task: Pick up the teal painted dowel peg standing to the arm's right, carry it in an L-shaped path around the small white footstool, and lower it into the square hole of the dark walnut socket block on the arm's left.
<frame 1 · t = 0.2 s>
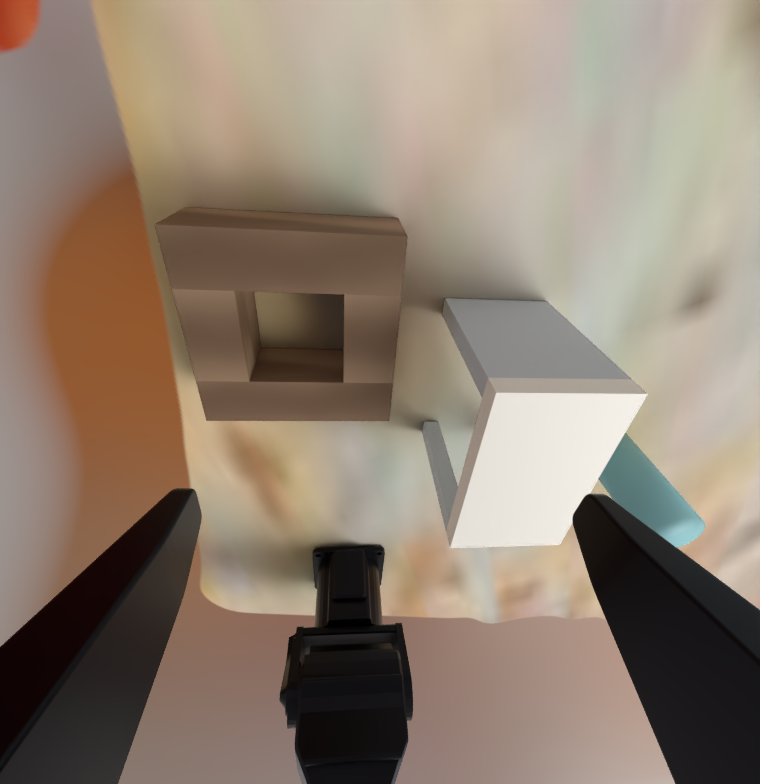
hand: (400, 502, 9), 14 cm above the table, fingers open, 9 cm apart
small white footstool: (478, 373, 24), on the table
peg: (601, 441, 29), on the table
socket: (300, 310, 21), on the table
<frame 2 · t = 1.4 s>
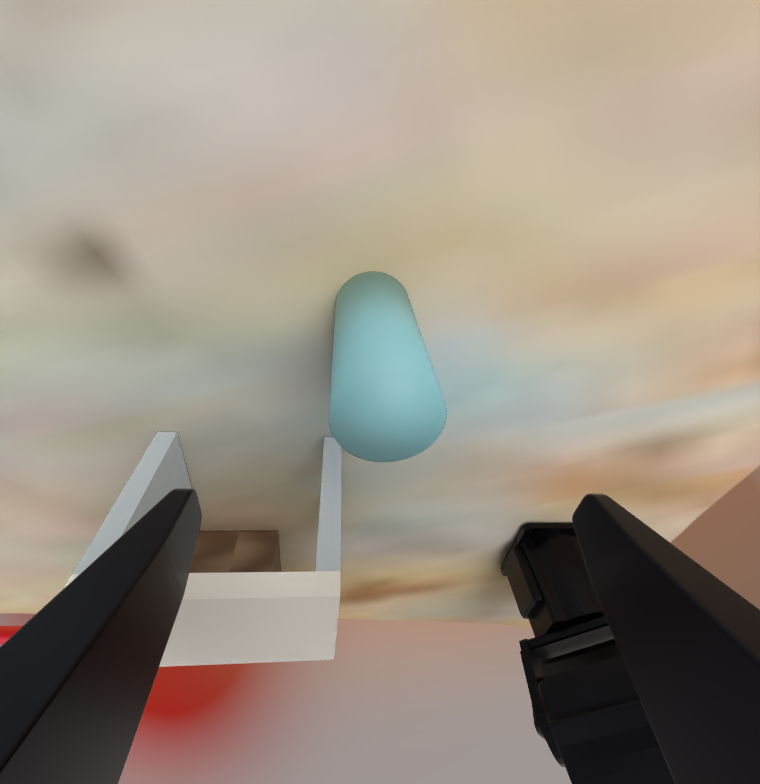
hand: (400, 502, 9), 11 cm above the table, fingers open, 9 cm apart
small white footstool: (256, 471, 23), on the table
peg: (372, 308, 17), on the table
socket: (213, 570, 29), on the table
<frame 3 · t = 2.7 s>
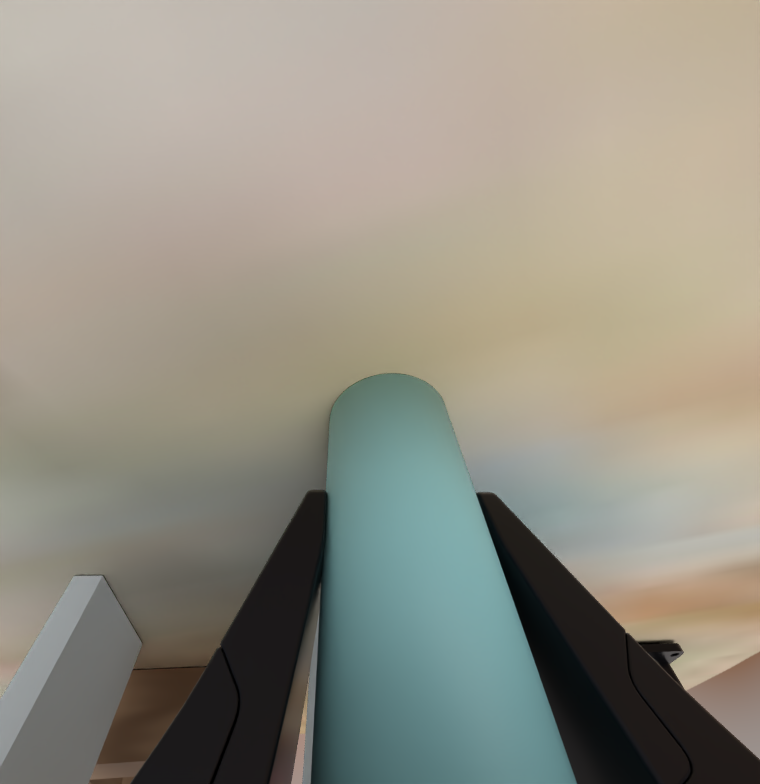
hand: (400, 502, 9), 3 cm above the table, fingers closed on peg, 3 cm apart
small white footstool: (222, 611, 17), on the table
peg: (388, 422, 11), on the table, touching gripper
socket: (176, 702, 22), on the table
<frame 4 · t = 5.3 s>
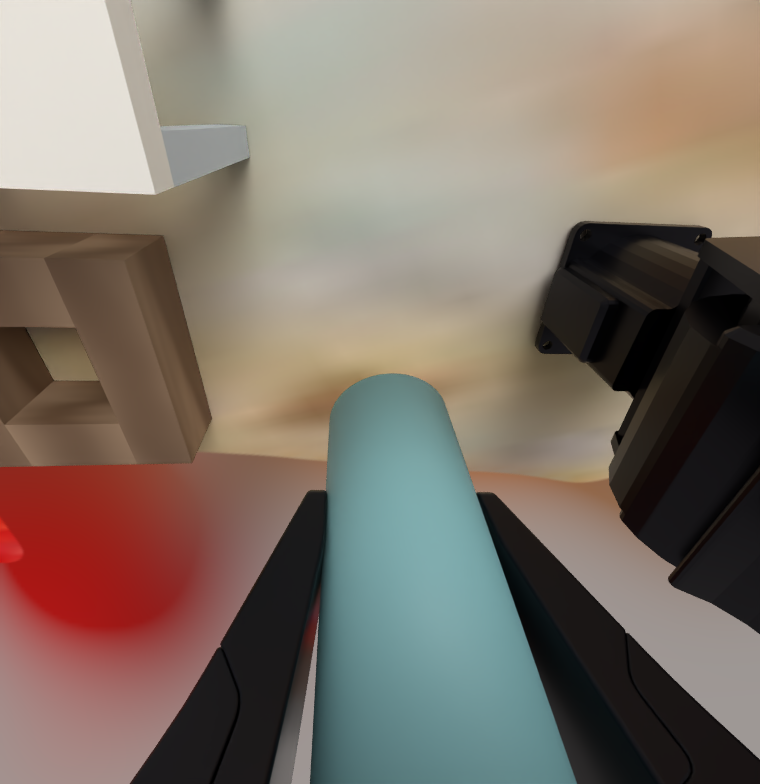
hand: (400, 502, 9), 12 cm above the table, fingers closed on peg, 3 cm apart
small white footstool: (80, 42, 12), on the table
peg: (388, 422, 11), point 9 cm above the table, touching gripper
socket: (84, 340, 18), on the table
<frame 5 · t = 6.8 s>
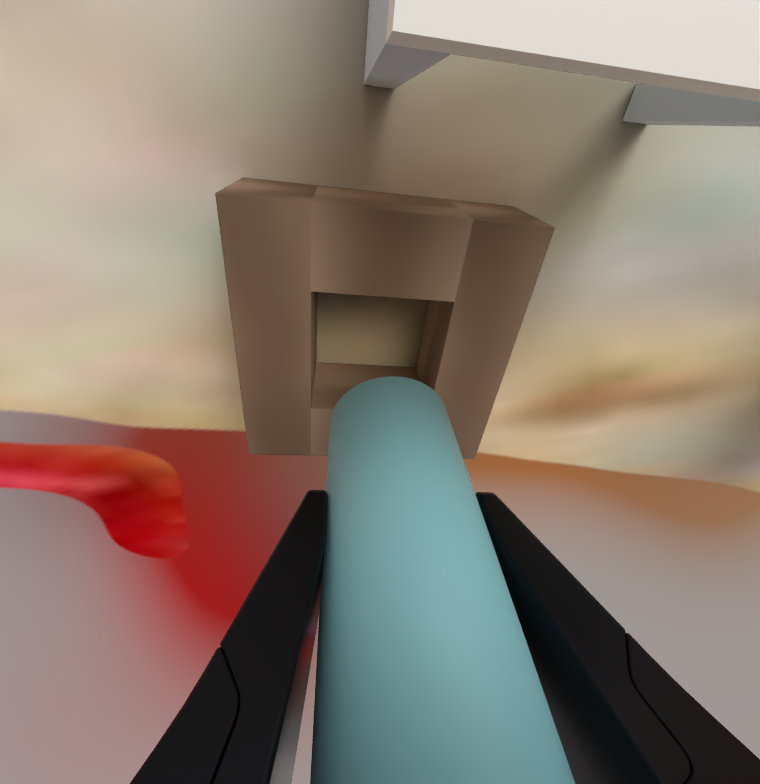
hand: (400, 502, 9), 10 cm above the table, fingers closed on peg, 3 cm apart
peg: (388, 425, 11), point 7 cm above the table, touching gripper
socket: (371, 318, 17), on the table
when the fingers open (4 cm above the table, at t = 8.0 s): peg drops 1 cm, resting in socket.
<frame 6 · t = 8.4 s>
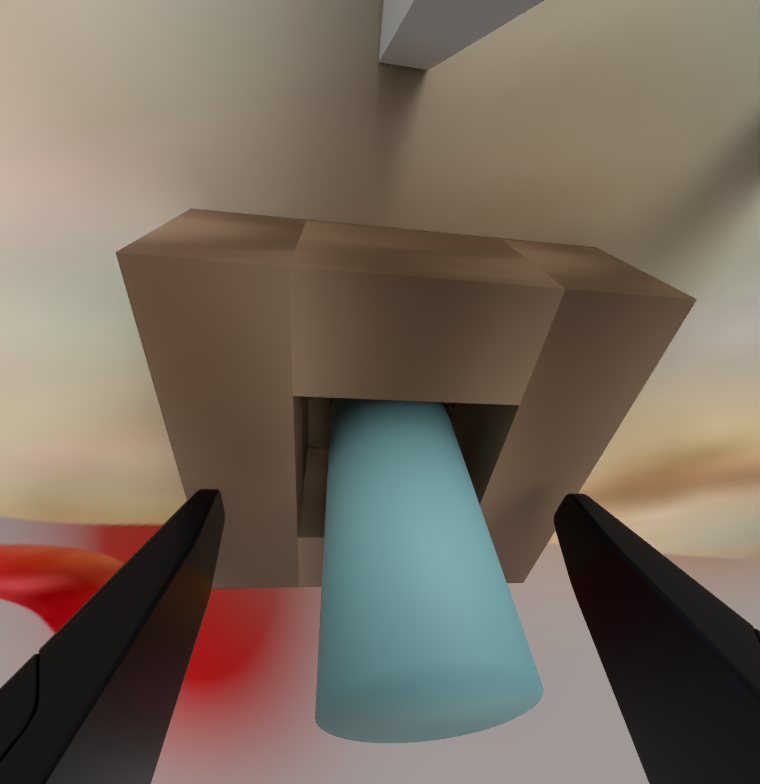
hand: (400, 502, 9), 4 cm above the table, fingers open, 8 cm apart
peg: (384, 395, 12), resting in socket
socket: (383, 395, 12), on the table
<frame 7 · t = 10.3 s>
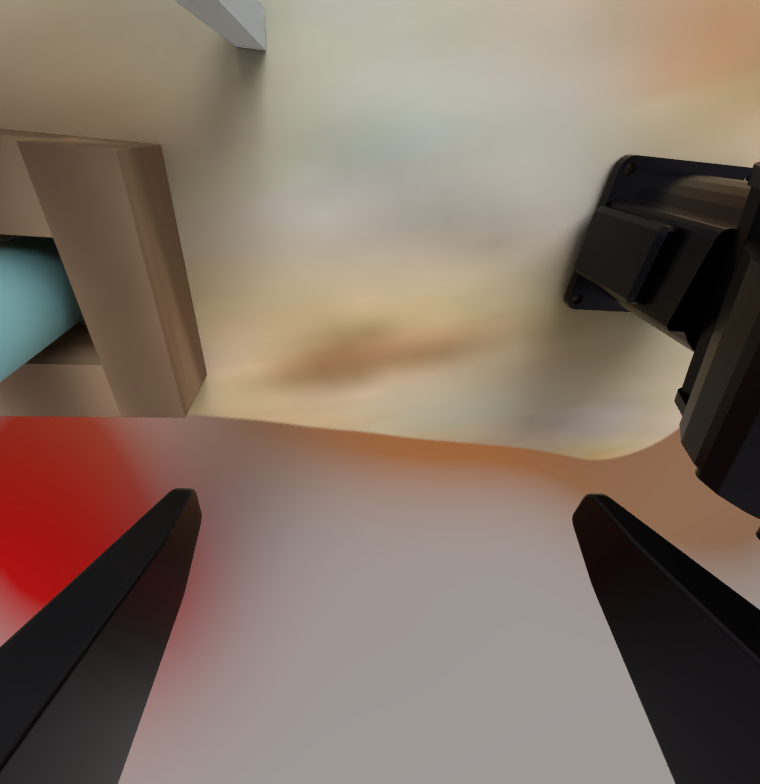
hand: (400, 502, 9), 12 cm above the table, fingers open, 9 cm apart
peg: (64, 273, 16), resting in socket
socket: (62, 272, 16), on the table
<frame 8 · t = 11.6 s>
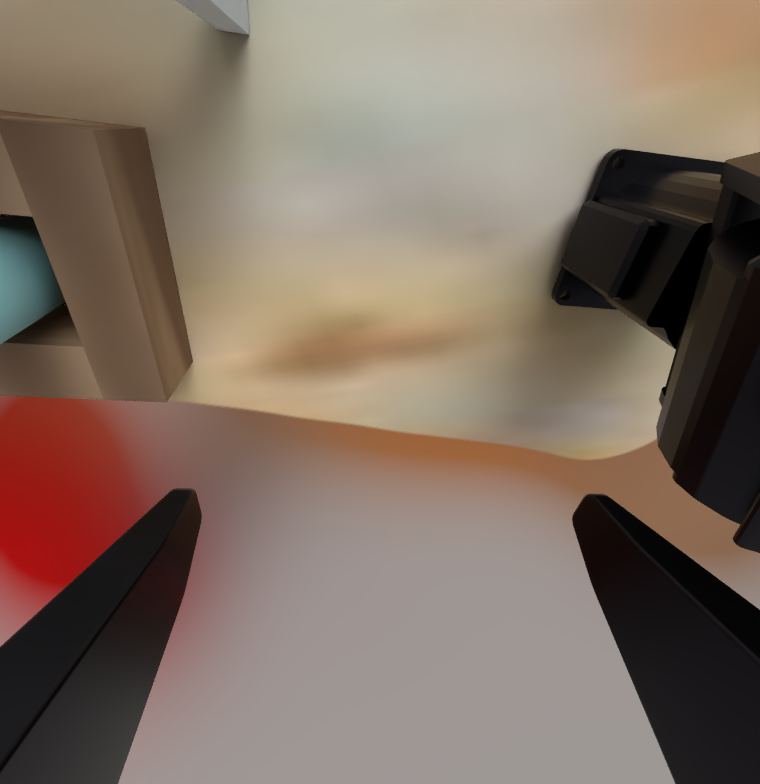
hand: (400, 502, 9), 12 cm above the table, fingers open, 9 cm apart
peg: (50, 255, 16), resting in socket
socket: (49, 254, 16), on the table
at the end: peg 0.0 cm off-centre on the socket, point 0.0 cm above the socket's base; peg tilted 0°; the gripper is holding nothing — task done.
